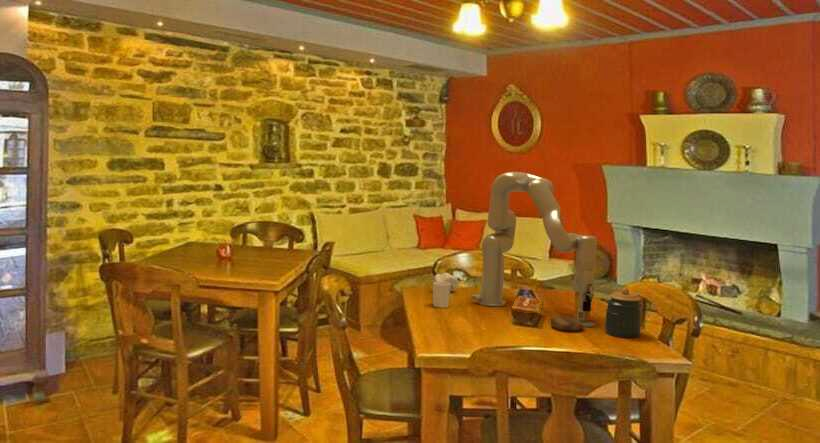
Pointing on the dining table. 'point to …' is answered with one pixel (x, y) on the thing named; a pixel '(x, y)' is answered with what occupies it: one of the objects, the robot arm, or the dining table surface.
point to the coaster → (588, 324)
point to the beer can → (580, 307)
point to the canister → (623, 314)
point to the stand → (566, 323)
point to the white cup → (441, 294)
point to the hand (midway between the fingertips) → (582, 308)
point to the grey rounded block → (447, 280)
